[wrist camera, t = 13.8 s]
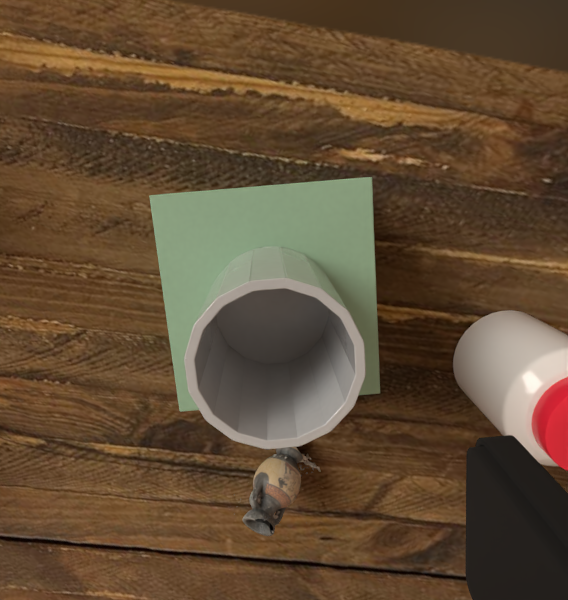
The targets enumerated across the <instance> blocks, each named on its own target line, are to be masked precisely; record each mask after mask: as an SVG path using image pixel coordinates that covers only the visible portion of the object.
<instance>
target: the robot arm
mask: <svg viewBox="0 0 568 600" xmlns="http://www.w3.org/2000/svg"><path fill="white" fill-rule="evenodd" d="M466 579H467V584H468V588H469V591H470V594H471V597H472V599H473V600H568V493H567V492H566V491H565V490H564V489H563V488H562V487H561V486H560V485H559V484H558V483H557V482H556V480H555V479H554V478H553V477H552V476H551V475H550V474H549V473H548V472H547V471H546V470H545V469H544V468H543V467H542V466H541V464H540V463H539V462H538V461H537V460H536V459H535V458H534V457H533V456H532V455H531V454H530V453H529V452H528V451H527V449H526V448H525V447H524V446H523V445H522V444H521V443H520V442H519V441H518V440H517V439H516V438H515V437H514V436H512V435H506V436H496V437H486V438H479V439H478V440H477V442H476V447H471V448H469V449H468V451H467V473H466Z"/></svg>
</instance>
